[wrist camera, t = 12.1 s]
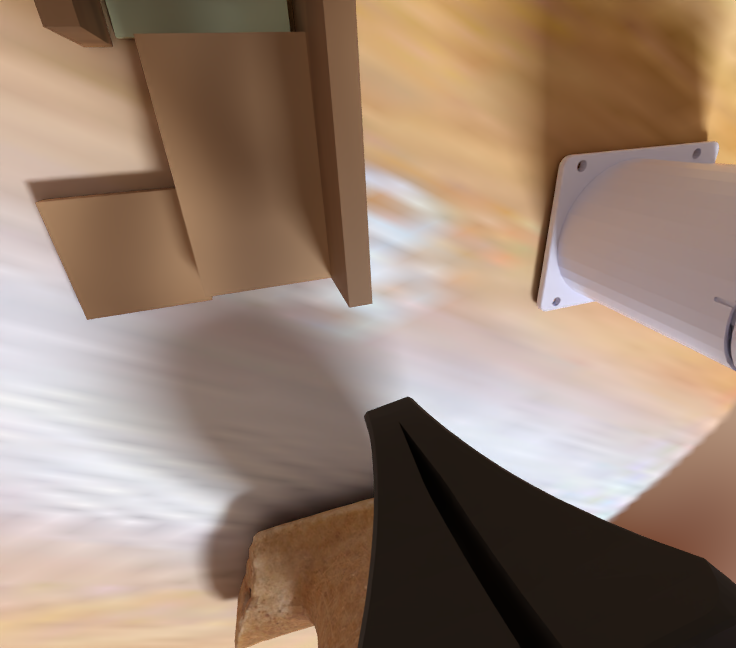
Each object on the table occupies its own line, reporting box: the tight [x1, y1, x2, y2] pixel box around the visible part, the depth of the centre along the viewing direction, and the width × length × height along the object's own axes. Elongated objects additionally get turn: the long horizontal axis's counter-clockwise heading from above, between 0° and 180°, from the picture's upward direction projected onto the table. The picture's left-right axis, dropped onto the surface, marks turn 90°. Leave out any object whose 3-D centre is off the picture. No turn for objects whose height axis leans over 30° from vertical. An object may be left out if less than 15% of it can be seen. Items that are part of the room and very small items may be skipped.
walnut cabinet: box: [34, 0, 372, 320], centre depth 11 cm, size 10×15×5 cm
